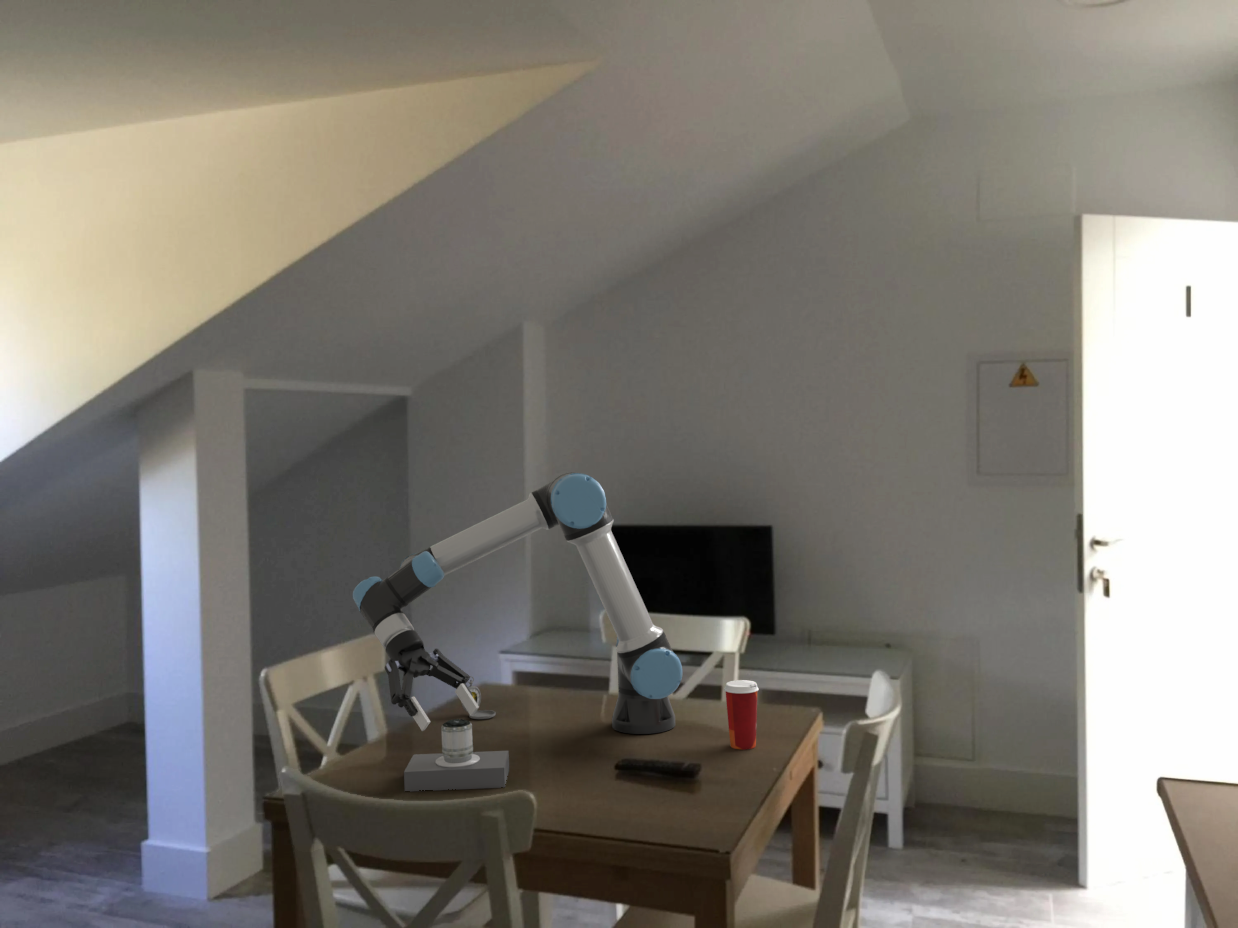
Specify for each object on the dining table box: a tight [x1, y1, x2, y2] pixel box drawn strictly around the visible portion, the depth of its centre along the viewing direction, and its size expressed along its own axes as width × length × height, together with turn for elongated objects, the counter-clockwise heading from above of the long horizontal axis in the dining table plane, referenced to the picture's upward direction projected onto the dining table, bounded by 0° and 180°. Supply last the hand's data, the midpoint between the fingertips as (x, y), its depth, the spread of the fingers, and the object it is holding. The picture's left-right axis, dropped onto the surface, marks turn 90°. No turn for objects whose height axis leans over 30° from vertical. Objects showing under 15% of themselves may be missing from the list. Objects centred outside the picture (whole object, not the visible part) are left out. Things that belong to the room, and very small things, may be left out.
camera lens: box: [440, 718, 474, 763], centre depth 224 cm, size 6×6×8 cm
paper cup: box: [723, 679, 760, 751], centre depth 242 cm, size 8×8×14 cm
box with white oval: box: [403, 750, 510, 792], centre depth 224 cm, size 20×12×4 cm, turn 92°
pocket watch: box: [461, 675, 497, 720], centre depth 276 cm, size 8×8×10 cm
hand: (451, 718), depth 224 cm, fingers open, 13 cm apart
